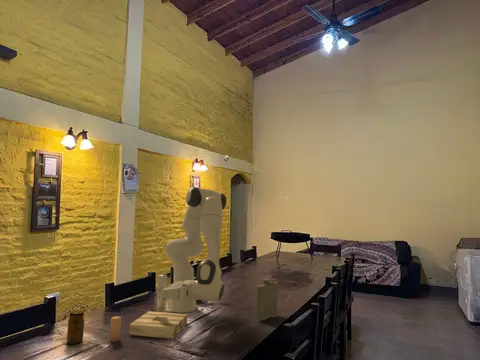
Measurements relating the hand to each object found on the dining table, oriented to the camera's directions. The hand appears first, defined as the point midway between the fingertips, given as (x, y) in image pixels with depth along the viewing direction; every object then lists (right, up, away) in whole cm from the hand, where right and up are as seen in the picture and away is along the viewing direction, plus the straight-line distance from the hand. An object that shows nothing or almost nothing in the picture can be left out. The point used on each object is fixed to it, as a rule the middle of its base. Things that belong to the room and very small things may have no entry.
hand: (160, 288), depth 165 cm
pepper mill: (+12, -23, +50) cm, 57 cm away
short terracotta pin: (-15, -17, -16) cm, 28 cm away
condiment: (-30, -16, -21) cm, 40 cm away
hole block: (0, -18, -2) cm, 18 cm away
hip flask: (+51, -22, +19) cm, 58 cm away
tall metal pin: (+1, -10, -1) cm, 10 cm away
